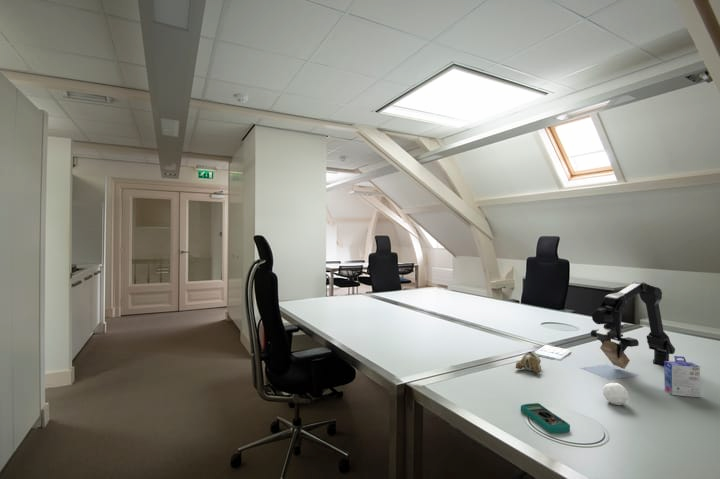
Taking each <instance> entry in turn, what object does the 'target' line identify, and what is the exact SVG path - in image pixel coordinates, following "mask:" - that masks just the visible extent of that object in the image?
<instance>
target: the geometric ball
mask: <svg viewBox="0 0 720 479" xmlns="http://www.w3.org/2000/svg"><path fill="white" fill-rule="evenodd" d="M602 394H603V396H604V398H605V400H606V401H607V402H609V403H611V404H612V405H615V406H621V405H622V406H623V405H625V404H626V403H627V402H628V401H629V398H630V397H629V392H628V391H627V389H626V388H625V386H623V385H622V384H620V383H618V382H609V383H607V384H605V385H604V386H603V388H602Z"/></svg>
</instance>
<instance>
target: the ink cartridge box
mask: <svg viewBox="0 0 720 479" xmlns="http://www.w3.org/2000/svg"><path fill="white" fill-rule="evenodd" d="M673 356H674V361H672V360H669V361H664V365H663V367H664V370H663V373H664V391H666V392H667V393H668V394H670V395H671V396H681V397H682V396H683V397H693V398H701V366H700V365H697V364H696V363H693V362H688V361H687V360H686V358H685V356H681V355H680V356H679V355H678V356H677V355H673Z"/></svg>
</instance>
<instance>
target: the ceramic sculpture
mask: <svg viewBox="0 0 720 479" xmlns="http://www.w3.org/2000/svg"><path fill="white" fill-rule="evenodd" d="M515 369H517V370H522V369H525V370H527V371H529V372H530V371H531V372H534V373H536V374H538V373H540V372H541V371H542V366H541V359H540V356H538V355H537V354H536V353H535V351H534V350H531V351H527V352H525V354H524V355H523V356H522V358H521V360H518V361H517V362H516V363H515Z"/></svg>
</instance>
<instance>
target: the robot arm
mask: <svg viewBox="0 0 720 479" xmlns="http://www.w3.org/2000/svg"><path fill="white" fill-rule="evenodd" d="M662 291H663V290H662V289H661V288H660V287H656V286H653V285H651V284H648V283H646V282H643V281H636V280H635V281H632V283H631V284H630V285H628V286H626V287H625V288H623V289H621V290H620V291H618V292H613V293H609V294H606V295H604V297H603V299H602V301H601V304H600V305H599V306H598V308H597V309H595V312H593V313H592V315H591V318H592V319H591V320H592V321H593V322H594V323H595V324H597V325H603V327H602V328H600V329H592V330H591V331H590V337H593V338H596V340H598V341H599V342H601V345H602V344H603V342H604V341H612V340H613V341H617V342H618V343H617V344H616V345H617V347H618V358H620V357H621V356H622V354H623V353H625V352H626V350H627V348H628V347H629V348H632V347H639V340H638V339H637V338H633V337H628V336H627V337H624V333H622V329H623V328H624V325H622V314H624V313H625V311H624V308H625V306H626V305H627V302H628V301H629V300H630V299H632V298H633V297H635V296H637V295H638V294H639V299H640V300H641V301H642V302H643V303H644V305H645V308H646V314H647V318H648V323H649V329H650V332H649V333H648V334H647V335H646V340H647V341H646V342H647V345H648V350H654V352H653V353H654V354H653V359H652V363H653V365H654V364H655V365H660V366H661V365H662V366H664V361H670V355H674V354H675V352H676V348H675V346H674V345H673V344H672V342H671V340H670V336H668V335H667V333H666V332H665V331H664V325H663V321H662V315H661V309H660V303H661V300H662V298H663V296H662V295H663V292H662Z"/></svg>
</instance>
